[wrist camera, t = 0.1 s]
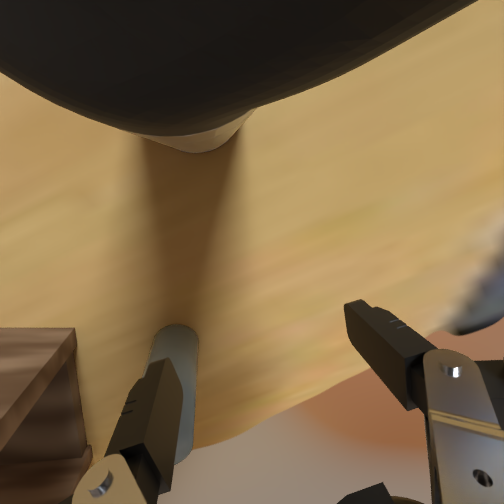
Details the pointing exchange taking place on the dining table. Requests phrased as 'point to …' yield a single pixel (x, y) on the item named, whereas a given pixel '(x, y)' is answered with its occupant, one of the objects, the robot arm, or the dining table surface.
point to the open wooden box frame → (40, 417)
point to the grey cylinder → (180, 376)
